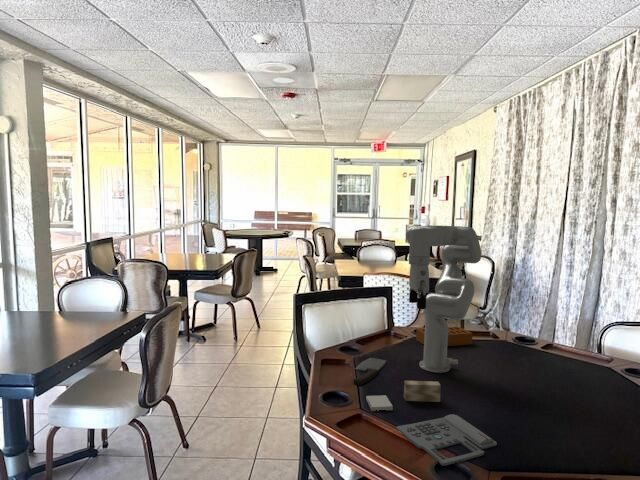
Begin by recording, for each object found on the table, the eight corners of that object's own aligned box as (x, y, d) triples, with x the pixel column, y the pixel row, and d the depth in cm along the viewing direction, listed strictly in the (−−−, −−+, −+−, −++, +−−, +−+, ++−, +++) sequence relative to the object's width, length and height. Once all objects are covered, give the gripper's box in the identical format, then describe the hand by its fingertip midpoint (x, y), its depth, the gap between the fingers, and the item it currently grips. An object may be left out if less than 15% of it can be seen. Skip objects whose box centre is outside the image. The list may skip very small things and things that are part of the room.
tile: (386, 395, 145) (366, 395, 144) (392, 406, 137) (372, 407, 136) (385, 400, 145) (366, 400, 144) (392, 411, 137) (371, 412, 136)
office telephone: (456, 410, 135) (506, 442, 116) (456, 418, 135) (506, 451, 116) (396, 422, 125) (440, 459, 107) (395, 430, 125) (439, 469, 107)
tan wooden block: (437, 398, 147) (438, 381, 147) (439, 402, 144) (440, 385, 144) (403, 397, 147) (404, 380, 147) (405, 401, 144) (406, 384, 144)
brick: (457, 337, 220) (458, 326, 220) (472, 344, 209) (472, 333, 208) (415, 340, 213) (416, 329, 213) (428, 348, 202) (428, 336, 201)
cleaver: (366, 387, 155) (366, 382, 154) (341, 382, 159) (341, 376, 159) (387, 362, 182) (388, 357, 182) (366, 358, 186) (366, 353, 186)
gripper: (437, 263, 147) (434, 311, 148) (421, 257, 164) (419, 300, 165) (416, 263, 146) (414, 311, 148) (402, 257, 164) (401, 300, 165)
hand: (417, 305), depth 157 cm, fingers open, 9 cm apart
